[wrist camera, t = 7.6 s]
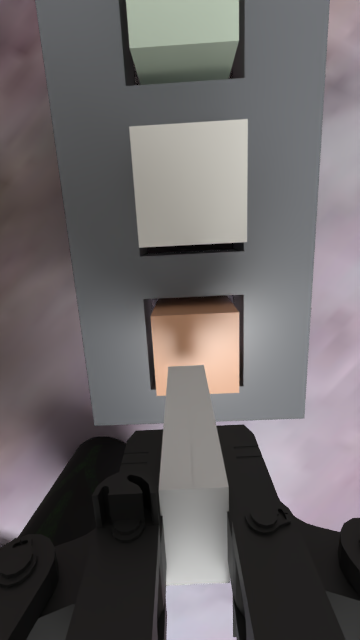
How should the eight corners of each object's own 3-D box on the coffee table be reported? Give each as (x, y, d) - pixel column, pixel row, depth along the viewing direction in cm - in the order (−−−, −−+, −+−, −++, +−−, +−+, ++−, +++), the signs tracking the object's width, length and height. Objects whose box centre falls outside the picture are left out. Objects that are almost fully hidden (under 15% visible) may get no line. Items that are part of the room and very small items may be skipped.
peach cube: (162, 362, 23) (156, 395, 18) (158, 298, 21) (150, 316, 17) (227, 359, 23) (239, 392, 18) (226, 295, 21) (239, 312, 17)
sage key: (144, 98, 18) (129, 48, 14) (137, -1, 17) (118, -95, 12) (224, 92, 18) (238, 40, 13) (223, -8, 17) (238, -105, 12)
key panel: (108, 396, 25) (94, 425, 21) (54, -51, 17) (16, -133, 13) (285, 389, 24) (304, 418, 20) (304, -71, 17) (339, -162, 13)
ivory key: (151, 245, 19) (139, 247, 14) (144, 157, 17) (129, 126, 12) (230, 240, 18) (247, 242, 14) (230, 152, 17) (247, 118, 12)
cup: (91, 408, 25) (9, 558, 13) (168, 457, 26) (153, 634, 14) (44, 472, 27) (-64, 653, 15) (118, 515, 28) (69, 715, 16)
